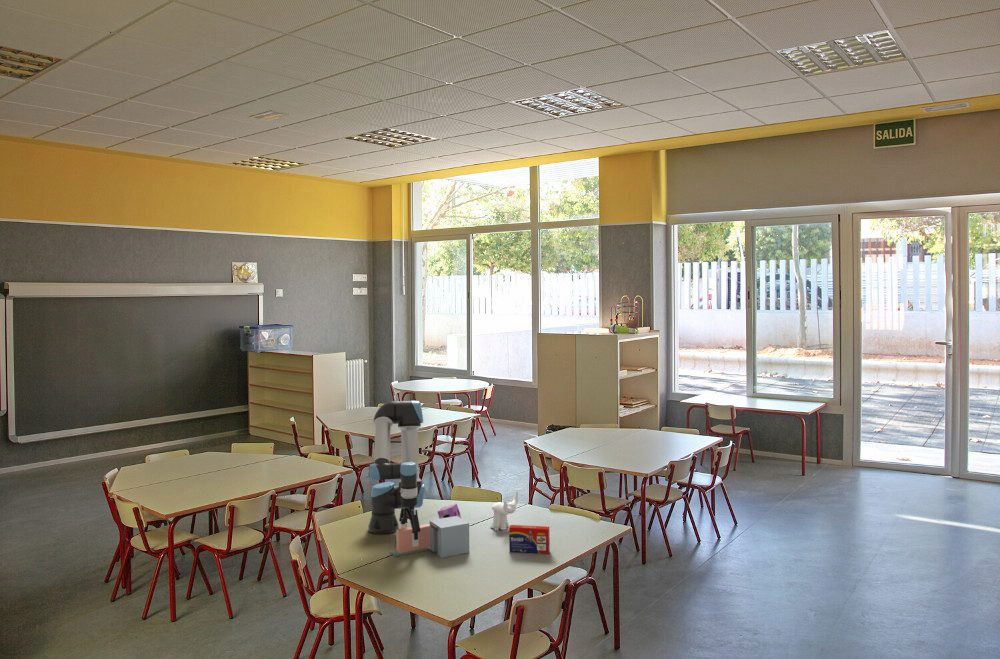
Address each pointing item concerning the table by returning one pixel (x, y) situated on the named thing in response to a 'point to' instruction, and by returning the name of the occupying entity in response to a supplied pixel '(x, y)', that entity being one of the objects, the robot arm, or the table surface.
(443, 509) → the toy
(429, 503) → the table surface
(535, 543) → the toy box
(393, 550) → the mat
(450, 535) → the pale blue cube
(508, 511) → the toy animal
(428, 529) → the long salmon pink block
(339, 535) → the table surface
